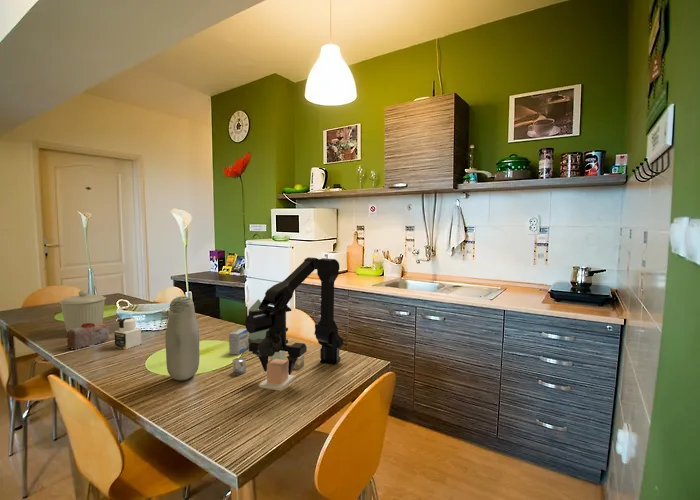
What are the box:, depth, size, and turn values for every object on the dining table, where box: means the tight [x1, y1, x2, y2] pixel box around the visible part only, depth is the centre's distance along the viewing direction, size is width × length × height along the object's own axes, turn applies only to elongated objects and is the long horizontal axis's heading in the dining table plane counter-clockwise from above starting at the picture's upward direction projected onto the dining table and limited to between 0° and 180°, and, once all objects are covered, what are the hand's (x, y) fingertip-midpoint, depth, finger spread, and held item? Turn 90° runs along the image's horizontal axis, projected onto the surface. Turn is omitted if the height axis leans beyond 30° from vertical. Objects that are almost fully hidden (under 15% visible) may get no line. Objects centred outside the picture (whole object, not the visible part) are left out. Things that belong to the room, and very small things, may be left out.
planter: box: [247, 298, 268, 341], centre depth 155 cm, size 16×8×20 cm, turn 49°
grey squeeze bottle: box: [164, 296, 200, 381], centre depth 114 cm, size 10×10×28 cm
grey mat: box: [258, 373, 296, 391], centre depth 112 cm, size 8×10×1 cm
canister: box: [58, 289, 107, 334], centre depth 166 cm, size 18×18×21 cm
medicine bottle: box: [114, 317, 142, 350], centre depth 147 cm, size 7×7×12 cm
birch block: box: [293, 354, 305, 370], centre depth 125 cm, size 4×4×4 cm
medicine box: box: [228, 328, 249, 356], centre depth 141 cm, size 8×4×9 cm, turn 168°
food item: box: [66, 322, 110, 350], centre depth 148 cm, size 14×8×10 cm, turn 156°
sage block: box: [270, 351, 286, 362], centre depth 132 cm, size 4×4×4 cm
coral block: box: [266, 359, 289, 384], centre depth 112 cm, size 5×5×6 cm
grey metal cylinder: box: [232, 357, 247, 376], centre depth 120 cm, size 4×4×4 cm
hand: (277, 372), depth 112 cm, fingers open, 9 cm apart
